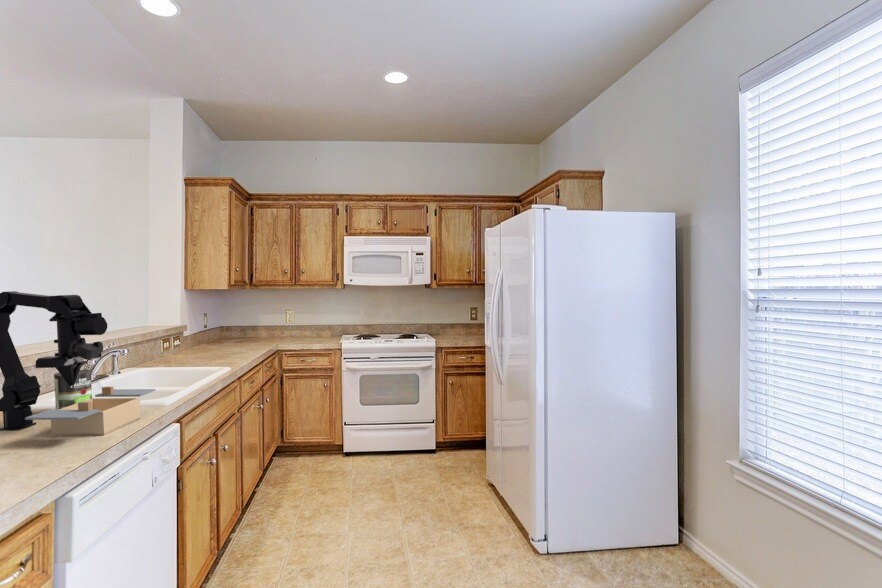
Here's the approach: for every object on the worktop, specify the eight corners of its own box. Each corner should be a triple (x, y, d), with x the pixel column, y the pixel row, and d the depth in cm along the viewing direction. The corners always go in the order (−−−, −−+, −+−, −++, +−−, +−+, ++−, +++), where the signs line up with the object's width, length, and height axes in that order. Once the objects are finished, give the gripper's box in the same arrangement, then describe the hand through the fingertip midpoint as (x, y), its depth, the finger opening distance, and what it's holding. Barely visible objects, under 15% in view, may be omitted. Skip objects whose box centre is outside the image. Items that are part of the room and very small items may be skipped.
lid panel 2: (95, 396, 158) (94, 387, 158) (112, 391, 165) (112, 382, 165) (140, 396, 157) (139, 387, 157) (155, 390, 165) (154, 382, 165)
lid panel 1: (25, 419, 132) (24, 409, 132) (49, 411, 140) (49, 401, 140) (78, 419, 132) (77, 408, 132) (99, 411, 140) (99, 401, 139)
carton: (51, 435, 141) (50, 412, 141) (93, 419, 157) (92, 398, 157) (104, 435, 141) (103, 411, 140) (140, 419, 156) (139, 397, 156)
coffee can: (100, 410, 169) (98, 370, 168) (68, 418, 159) (66, 376, 159) (80, 407, 172) (78, 368, 172) (48, 415, 163) (46, 374, 162)
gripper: (69, 339, 139) (72, 392, 139) (116, 331, 157) (118, 378, 158) (32, 339, 139) (35, 393, 140) (83, 332, 158) (85, 379, 158)
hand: (71, 385), depth 149 cm, fingers closed
